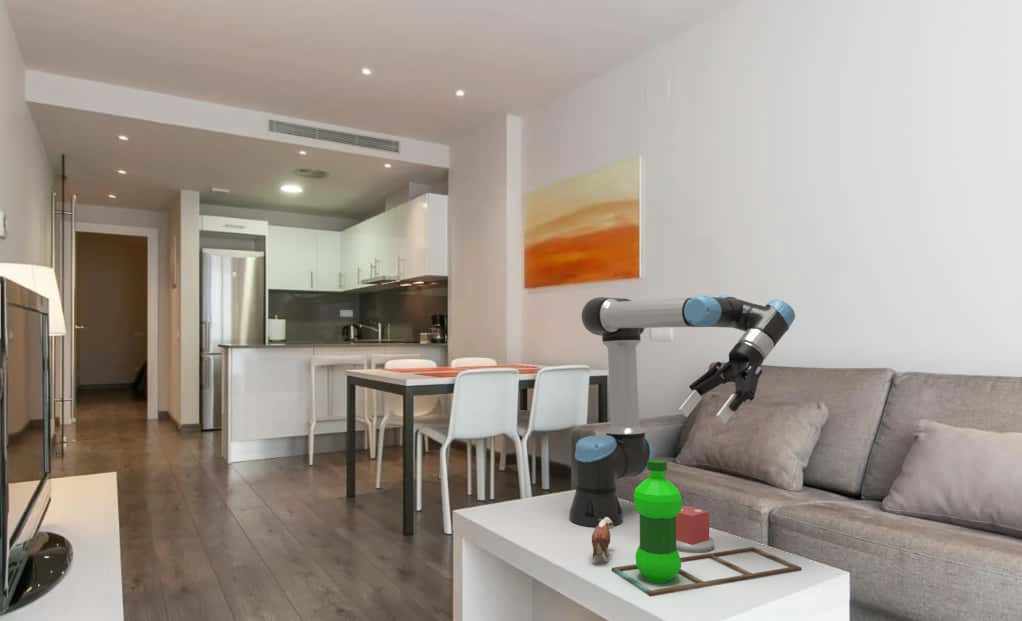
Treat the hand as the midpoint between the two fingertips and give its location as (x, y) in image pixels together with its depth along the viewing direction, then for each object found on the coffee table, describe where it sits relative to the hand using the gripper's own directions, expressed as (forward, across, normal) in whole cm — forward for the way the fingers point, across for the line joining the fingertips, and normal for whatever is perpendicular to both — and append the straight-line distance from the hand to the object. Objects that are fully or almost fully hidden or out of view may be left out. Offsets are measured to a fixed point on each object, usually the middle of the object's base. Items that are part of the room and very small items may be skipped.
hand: (700, 416), depth 145 cm
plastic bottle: (+35, -4, -13) cm, 37 cm away
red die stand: (+20, +12, -28) cm, 36 cm away
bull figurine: (+38, +12, -10) cm, 41 cm away
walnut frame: (+25, -4, -22) cm, 34 cm away
